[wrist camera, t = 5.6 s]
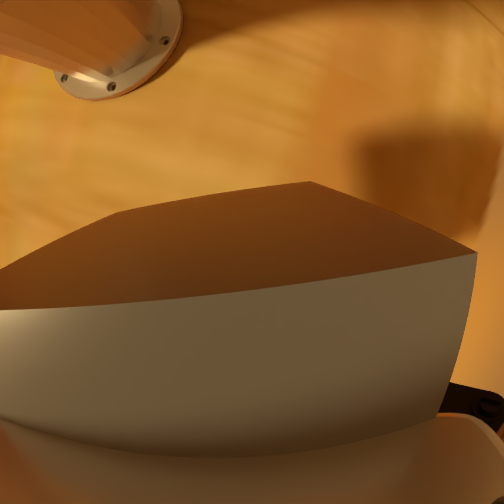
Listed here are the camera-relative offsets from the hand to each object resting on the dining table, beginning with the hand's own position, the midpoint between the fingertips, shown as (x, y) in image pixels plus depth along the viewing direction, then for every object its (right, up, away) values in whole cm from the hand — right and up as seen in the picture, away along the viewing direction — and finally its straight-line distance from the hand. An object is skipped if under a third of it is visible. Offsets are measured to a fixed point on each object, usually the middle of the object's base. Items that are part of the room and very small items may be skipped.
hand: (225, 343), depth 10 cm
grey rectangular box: (0, +1, +2) cm, 2 cm away
